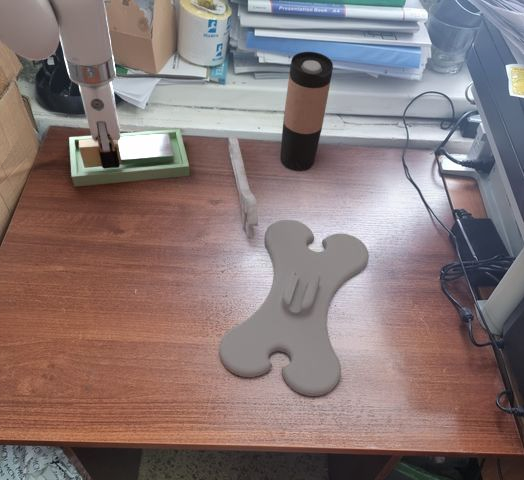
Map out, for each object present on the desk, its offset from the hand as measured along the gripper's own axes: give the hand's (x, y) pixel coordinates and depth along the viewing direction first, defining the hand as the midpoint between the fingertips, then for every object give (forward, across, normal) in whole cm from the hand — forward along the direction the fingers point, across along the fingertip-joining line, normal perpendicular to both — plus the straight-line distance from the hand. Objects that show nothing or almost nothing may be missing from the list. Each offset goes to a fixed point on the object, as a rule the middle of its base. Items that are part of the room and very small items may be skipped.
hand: (110, 161), depth 97 cm
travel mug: (+2, -2, -37) cm, 38 cm away
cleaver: (0, +2, -4) cm, 4 cm away
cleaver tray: (+2, +2, -4) cm, 5 cm away
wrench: (+2, -10, -24) cm, 26 cm away
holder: (+2, -38, -28) cm, 47 cm away
